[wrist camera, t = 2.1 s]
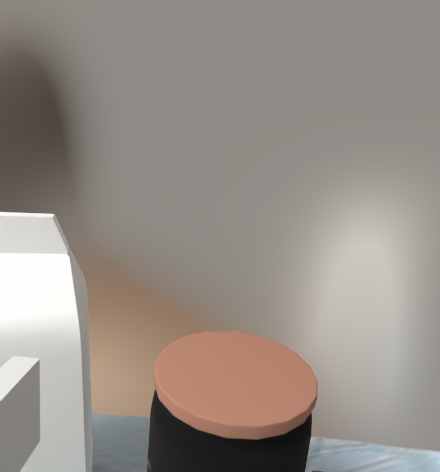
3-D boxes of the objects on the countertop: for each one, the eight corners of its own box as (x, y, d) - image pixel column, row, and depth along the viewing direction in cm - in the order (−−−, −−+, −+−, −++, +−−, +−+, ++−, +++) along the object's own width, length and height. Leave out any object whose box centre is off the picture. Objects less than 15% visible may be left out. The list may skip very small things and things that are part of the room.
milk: (-101, 606, 25) (-147, 228, 19) (-40, 467, 36) (-58, 198, 30) (89, 562, 29) (96, 234, 23) (92, 448, 39) (98, 205, 34)
